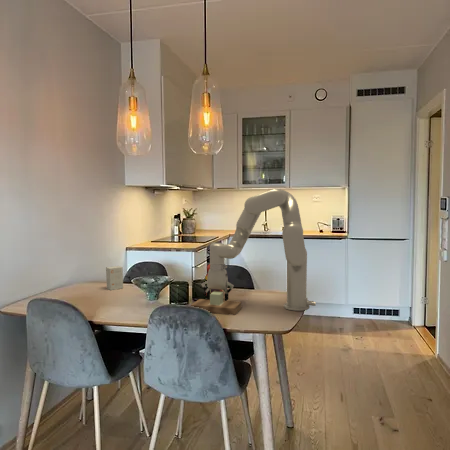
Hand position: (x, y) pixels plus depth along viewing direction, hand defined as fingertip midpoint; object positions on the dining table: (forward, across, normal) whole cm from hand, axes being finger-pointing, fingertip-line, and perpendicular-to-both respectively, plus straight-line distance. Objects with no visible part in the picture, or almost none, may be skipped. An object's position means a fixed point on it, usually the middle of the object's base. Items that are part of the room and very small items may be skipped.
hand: (217, 300), depth 208 cm
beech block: (+2, 0, 0) cm, 2 cm away
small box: (+2, +70, -15) cm, 72 cm away
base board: (+2, -3, +11) cm, 12 cm away
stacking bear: (+2, +8, -17) cm, 19 cm away
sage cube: (-1, -3, +11) cm, 11 cm away
